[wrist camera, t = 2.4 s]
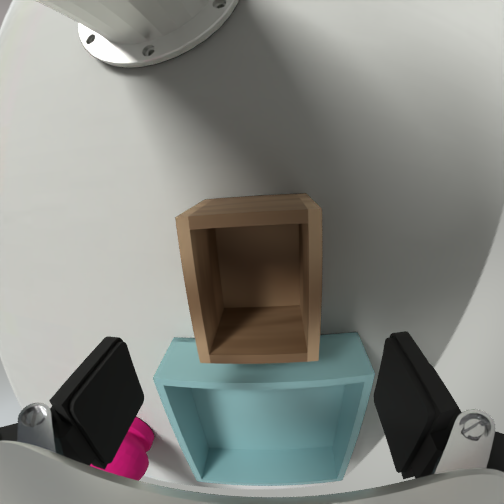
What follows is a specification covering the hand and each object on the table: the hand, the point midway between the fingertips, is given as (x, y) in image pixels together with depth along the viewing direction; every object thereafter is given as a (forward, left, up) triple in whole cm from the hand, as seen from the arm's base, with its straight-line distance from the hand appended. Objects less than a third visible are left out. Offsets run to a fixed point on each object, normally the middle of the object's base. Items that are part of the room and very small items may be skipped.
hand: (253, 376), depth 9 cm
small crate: (-1, 0, -11) cm, 11 cm away
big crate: (+13, 0, -11) cm, 17 cm away
